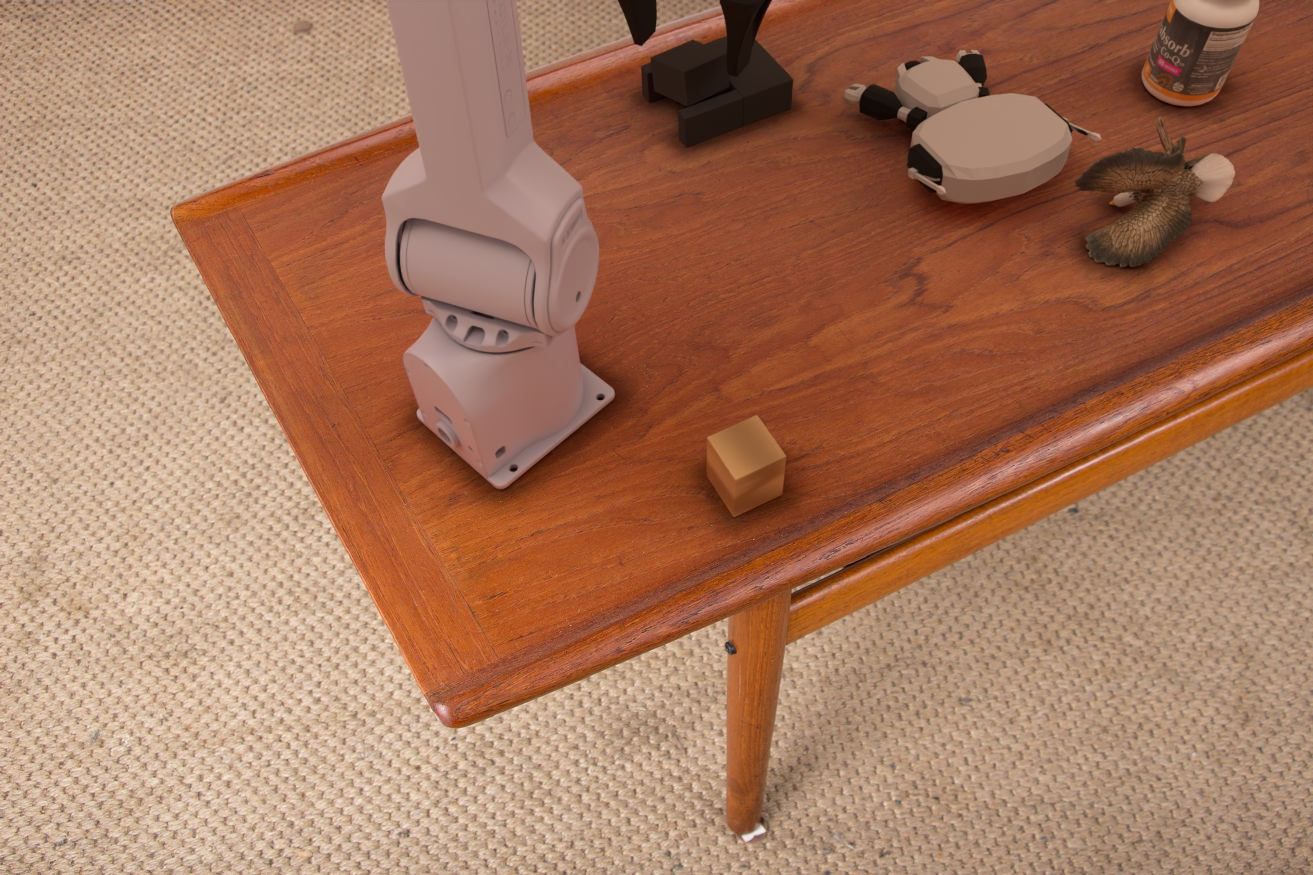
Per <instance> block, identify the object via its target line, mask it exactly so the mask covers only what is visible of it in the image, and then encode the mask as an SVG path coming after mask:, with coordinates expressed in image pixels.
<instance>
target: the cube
mask: <svg viewBox="0 0 1313 875" xmlns="http://www.w3.org/2000/svg"><path fill="white" fill-rule="evenodd" d="M786 464H787V455H786V453H785V452H784V450H783V449H782V448H781V446H780V445H779V443H778V442H777V440H776V439H775V438H774V436H773V435H772V433H771V432H770V431H769V429H768V428H767V427H766V425H765V423H763V421H762V420H761V418H760V417H759V415H758V414H755V415H753V416H751V417H749V418H746V419H744V420H742V421H740V422H739V421H738V423H735V424H733V425H731V426H728V427H726V428H724V429H722V430H719V431H717V432H715V433H712V434H711V435H708V436H707V437H706V478H707V480H708V481H709V482H710V484H711V485H712V487H713V489H714V490H715V491H716V493H717V494H718V496H719V498H720V499H721V500H722V502H723V504H724V505H725V507H726V508H727V510H728V512H729V513H730V515H731V516H732V517H733V518H736V517H738V516H740V515H743V514H744V513H747V512H749V511H751V510H753V509H755V508H758V507H760V506H761V505H764V504H766V503H768V502H770V501H772V500H774V499H776V498H779V497H781V496H783V492H784V482H785V474H786V473H785V472H786Z"/></svg>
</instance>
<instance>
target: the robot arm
mask: <svg viewBox="0 0 1313 875" xmlns="http://www.w3.org/2000/svg"><path fill="white" fill-rule="evenodd" d="M617 2H618V5H619V6H620V8H621V11H622V13H623V16H624V18H625V20H626V24H627V27H628V30H629V32H630V35H631V38H632V41H633V44H634V45H635V46H639V47H643V46H644V45H645V44H646V43H647V41H648V40H649V39H650V38H651V37H652V36H653V35H654V34H655V33H656V31H657V21H658V7H657V0H617ZM772 2H773V0H719V5H720V8H721V11H722V14H723V19H724V24H725V31H726V36H727V59H726V65H727V72H728V75H731V76H734V77H738V75H739V74H740V73H741V72H742V71H743V69H744V68H745V67H746V66H747V65H748V63H749V61H750V57H751V52H752V48H753V45H754V41H755V40H756V38H757V36H758V33H759V29H760V28H761V24H762V22H763V20H764V17H765V15H766V13H767V11H768V9H769V7H770V5H771V3H772ZM385 3H386V7H387V12H388V16H389V21H390V24H391V30H392V33H393V37H394V41H395V47H396V50H397V55H398V60H399V64H400V70H401V73H402V77H403V81H404V86H405V90H406V94H407V99H408V103H409V108H410V113H411V117H412V122H413V125H414V130H415V135H416V139H417V144H418V148H416V149H415V150H414V151H412V152H411V153H410V154H408V155H407V156H406V158H404V159H403V160H402V162H401V163H400V164H399V165H398V166H397V168H396V169H395V170H394V171H393V173H392V175H391V177H390V178H389V180H388V183H387V185H386V187H385V189H384V191H383V193H382V195H381V202H382V206H383V209H384V212H385V214H384V215H385V223H386V224H385V226H386V228H385V229H386V230H385V236H384V258H385V263H386V267H387V271H388V275H389V278H390V280H391V282H392V284H393V286H394V287H395V288H396V289H397V291H399V292H401V293H402V294H405V295H408V296H412V297H418V296H420V299H421V303H422V306H423V309H424V312H425V314H427V315H429V316H431V317H432V319H431V320H430V322H429V323H428V326H427V328H426V329H425V330H424V331H423V333H422V334H421V335H420V336H419V338H417V340H416V341H415V342H413V344H412V345H410V346H409V347H408V348H407V349H406V351H405V352H404V353H403V355H402V364H403V367H404V371H405V373H406V376H407V378H408V382H409V384H410V387H411V390H412V392H413V395H414V398H415V401H416V403H417V406H418V409H417V410H416V417H417V418H418V419H417V420H418V421H420V422H421V423H422V424H423V425H424V426H425V427H427V428H428V430H430V432H432V433H433V434H435V436H436V437H438V438H439V439H440V440H441V441H442V442H443V443H444V444H446V445H447V446H448V447H449V448H450V449H451V450H452V451H453V452H454V453H456V454H457V456H459V457H460V458H461V459H462V460H463V461H464V462H466V463H467V464H468V465H469V466H470V467H472V469H474V470H475V471H476V473H477V474H479V475H480V476H481V477H483V479H485V480H486V481H487V482H488V483H490V485H492V486H493V487H494V488H495V489H497V490H504V489H506V488H507V487H509V486H510V485H512V483H514V482H515V481H516V480H517V479H519V478H520V477H521V476H522V475H524V474H525V473H526V472H527V471H528V470H529V469H531V468H532V467H533V466H534V465H536V464H537V463H538V462H539V461H541V459H543V458H544V457H545V456H547V455H548V454H549V453H550V452H551V451H553V450H554V449H555V448H556V447H558V446H559V445H560V444H561V443H562V442H563V441H564V440H566V439H568V437H569V436H572V435H573V434H574V432H576V431H577V430H578V429H579V428H580V427H582V426H583V425H584V424H585V423H587V422H588V421H589V420H590V419H592V418H593V417H594V416H595V415H597V414H598V413H599V412H600V411H601V410H603V409H604V408H605V407H606V406H607V405H608V404H610V403H611V402H612V401H613V400H614V399H615V397H616V393H615V390H614V388H613V387H612V386H611V385H609V384H608V383H607V382H605V381H604V380H603V379H602V378H600V377H599V376H598V375H597V374H595V373H594V372H593V371H591V370H590V369H589V368H587V366H585V365H584V364H582V363H581V360H580V353H579V347H578V339H577V333H576V326H575V325H577V323H578V322H579V321H580V319H581V318H582V316H583V314H584V313H585V311H586V309H587V307H588V305H589V303H590V300H591V298H592V295H593V291H594V289H595V286H596V281H597V276H598V272H599V264H600V243H599V242H600V241H599V238H598V235H597V233H596V231H595V227H594V224H593V223H592V221H591V219H590V218H589V216H588V213H587V209H586V203H585V197H584V187H583V186H582V184H581V183H579V181H577V179H576V178H574V176H572V175H571V174H570V172H568V171H567V170H566V169H565V168H564V167H563V166H561V165H560V163H558V162H557V161H556V160H555V159H553V158H552V157H551V156H550V155H549V154H548V153H546V152H545V151H544V149H542V148H541V147H540V146H539V145H538V143H536V142H535V139H534V132H533V123H532V115H531V108H530V99H529V90H528V84H527V75H526V68H525V60H524V52H523V44H522V36H521V35H522V34H521V28H520V26H521V25H520V19H519V18H520V17H519V11H518V3H517V0H385ZM600 398H602V400H599V399H600ZM512 469H516V470H515V471H511V470H512Z"/></svg>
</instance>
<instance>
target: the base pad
mask: <svg viewBox="0 0 1313 875" xmlns="http://www.w3.org/2000/svg"><path fill="white" fill-rule="evenodd" d="M704 44H705V45H708V46H710V47H713V48H715V49H718V50H720V51H723V52H725V53H727V35H724V36H722V37H720V38H716V39H714V40H711V41H708V42H705V43H704ZM640 76H641V92H642V93H641V94H642V96H643V97H644V98H645V100H646V101H647V102H648V103H651V102H653V101H656V100H659V99H663V98H664V97H666V96H664V95H662V94H659V93H657V92H655V91H654V84H653V75H652V67H651V62H648V63H645V64H643V65H641V66H640ZM729 83H730V88H728V89H725V90H723V91H721V92H719V93H717V94H714V97H711V98H709V99H705V100H702V101H699V102H697V103H694V104H692V105H690V106H686V107H684V108H682V109H679V110H677V122H678V124H677V125H678V127H677V128H678V140H679V141H680V143H681V144H682V145H683V147H684V148H688V147H691V146H694V145H696V144H698V143H702V142H704V141H707V140H710V139H712V138H715V137H718V136H720V135H723V134H726V133H728V132H730V131H733V130H736V129H739V128H742V127H744V126H747V125H749V124H752V123H755V122H756V121H759V120H764V119H765V118H768V117H771V116H773V115H776V114H778V113H781V112H784V111H787V110H789V109H791V108H792V99H793V89H794V78H793V77H792V76H791V75H790V74H789V73H788V72H787V70H785V69H784V68H783V66H781V64H780V63H779V62H777V60H776V59H775V58H774V57H773V56H772V55H771V53H769V52H768V51H767V50H766V49H765V48H764V47H763V46H762V45H761V43H760V42H758V41H757V39H755V41H754V45H753V48H752V52H751V57H750V61H749V63H748V65H747V66H746V67H745V68H744V69H743V71H742V72H741V73H740V74H739V75H738V77H734V76H731V75H729Z"/></svg>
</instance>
